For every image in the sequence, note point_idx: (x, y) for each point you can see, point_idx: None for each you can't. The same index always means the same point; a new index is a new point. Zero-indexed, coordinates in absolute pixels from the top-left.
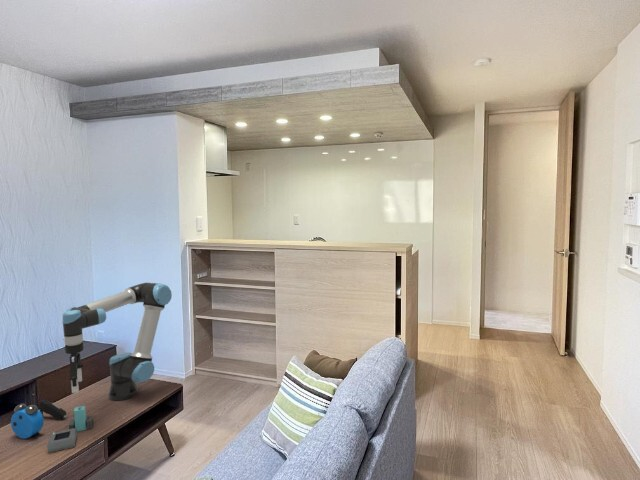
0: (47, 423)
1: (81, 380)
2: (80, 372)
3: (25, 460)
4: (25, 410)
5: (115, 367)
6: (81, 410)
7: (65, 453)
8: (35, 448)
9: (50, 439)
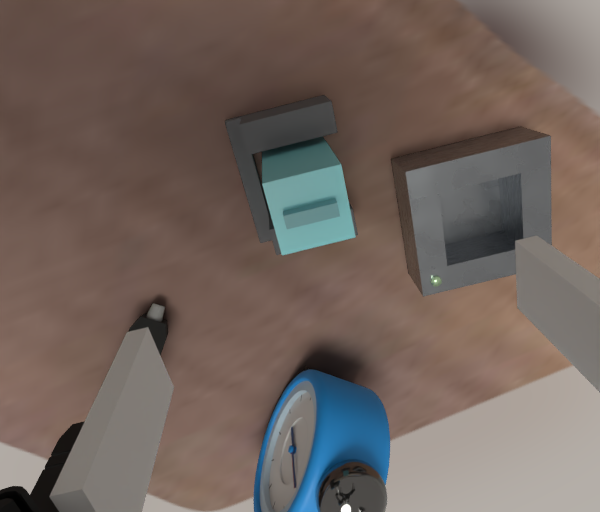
0: (194, 373)
1: (147, 339)
2: (114, 433)
3: None
4: None
5: None
6: (344, 184)
7: (569, 152)
8: (450, 320)
9: (501, 270)
